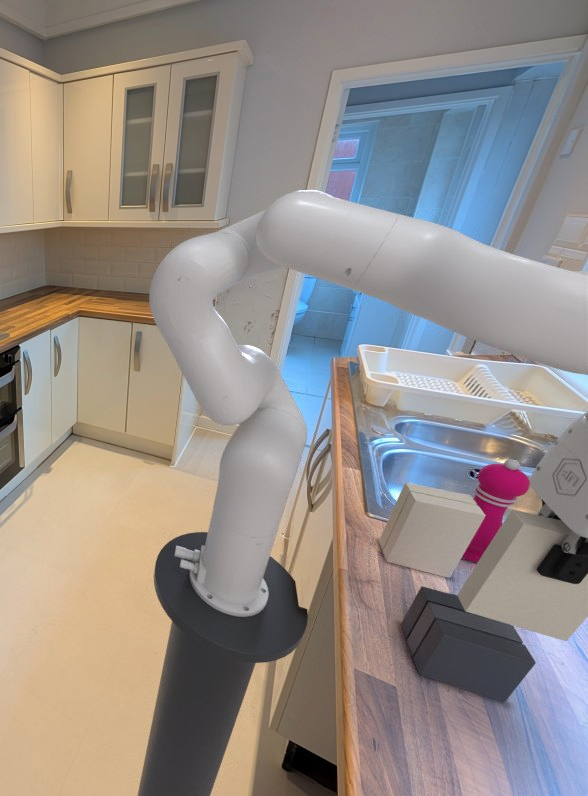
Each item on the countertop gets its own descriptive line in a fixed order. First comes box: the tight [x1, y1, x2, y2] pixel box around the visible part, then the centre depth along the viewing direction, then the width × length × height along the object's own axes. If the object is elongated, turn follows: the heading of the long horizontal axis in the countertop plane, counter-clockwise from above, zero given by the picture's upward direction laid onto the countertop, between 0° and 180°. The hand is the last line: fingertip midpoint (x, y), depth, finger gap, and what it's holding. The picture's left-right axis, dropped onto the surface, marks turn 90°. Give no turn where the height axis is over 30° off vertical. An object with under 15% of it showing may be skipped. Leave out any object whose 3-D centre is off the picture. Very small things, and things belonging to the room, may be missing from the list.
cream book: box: [456, 509, 588, 642], centre depth 48 cm, size 9×2×14 cm, turn 66°
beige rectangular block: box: [378, 481, 486, 579], centre depth 74 cm, size 9×5×14 cm, turn 67°
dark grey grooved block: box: [400, 585, 537, 704], centre depth 58 cm, size 9×8×8 cm
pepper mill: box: [461, 458, 531, 563], centre depth 74 cm, size 7×7×20 cm
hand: (548, 565), depth 47 cm, fingers closed on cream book, 2 cm apart
